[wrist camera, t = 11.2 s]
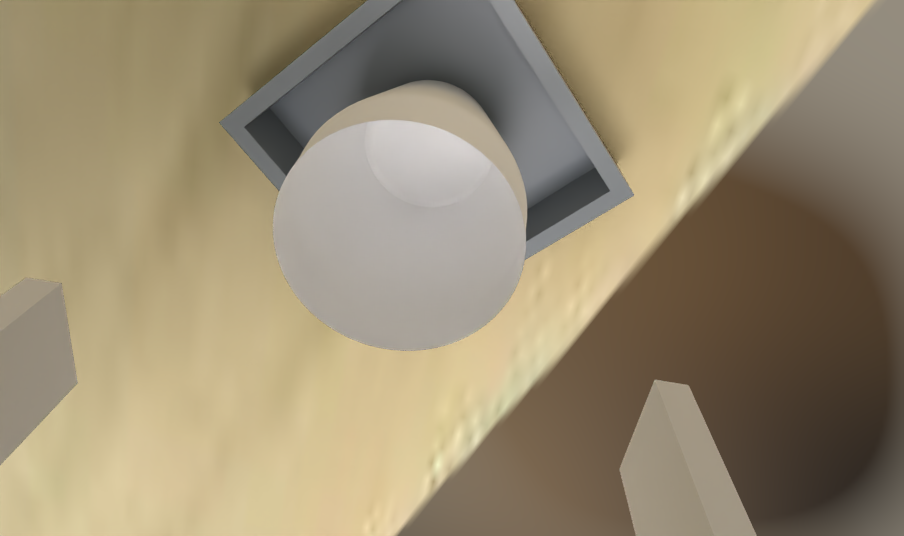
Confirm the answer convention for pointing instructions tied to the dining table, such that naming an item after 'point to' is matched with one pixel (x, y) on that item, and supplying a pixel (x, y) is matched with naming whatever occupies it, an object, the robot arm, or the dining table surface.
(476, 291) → the cup
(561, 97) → the bin
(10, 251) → the dining table surface
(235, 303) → the dining table surface
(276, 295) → the dining table surface
